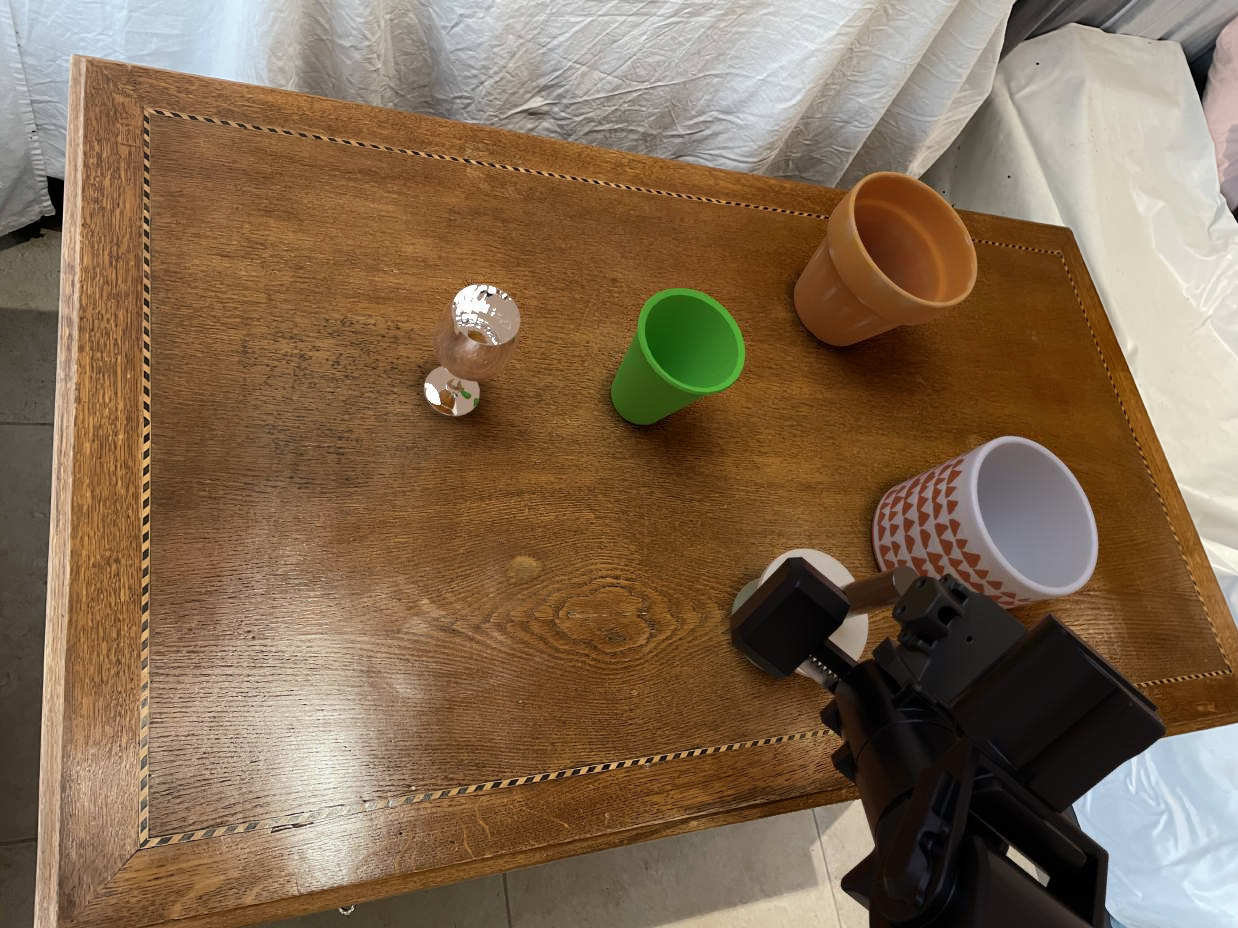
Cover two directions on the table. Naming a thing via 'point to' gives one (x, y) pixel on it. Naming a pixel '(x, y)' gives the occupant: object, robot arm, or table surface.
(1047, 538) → the planter
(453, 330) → the wineglass
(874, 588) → the pole on white disc
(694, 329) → the cup
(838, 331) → the flower pot
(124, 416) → the table surface
